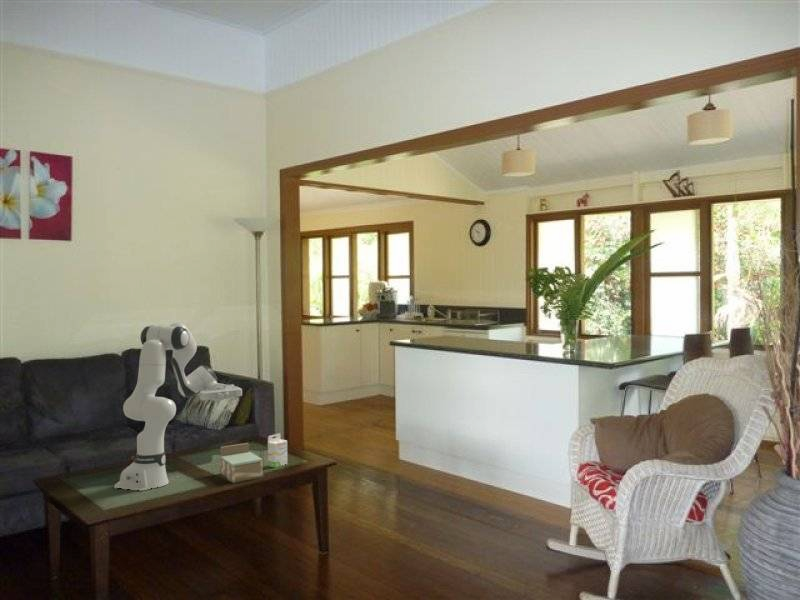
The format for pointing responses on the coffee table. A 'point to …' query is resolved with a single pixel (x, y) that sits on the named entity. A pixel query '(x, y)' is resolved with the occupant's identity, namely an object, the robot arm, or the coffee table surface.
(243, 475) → the box
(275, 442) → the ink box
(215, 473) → the coffee table surface
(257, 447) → the coffee table surface
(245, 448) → the lid
